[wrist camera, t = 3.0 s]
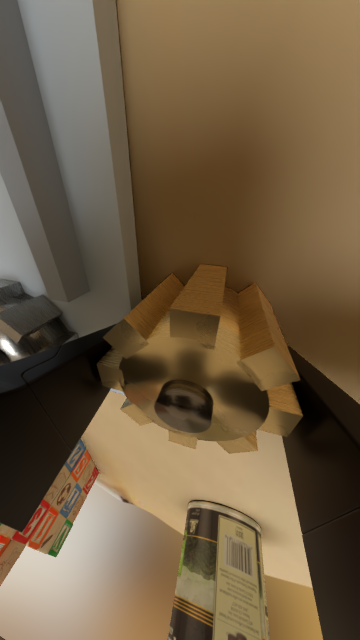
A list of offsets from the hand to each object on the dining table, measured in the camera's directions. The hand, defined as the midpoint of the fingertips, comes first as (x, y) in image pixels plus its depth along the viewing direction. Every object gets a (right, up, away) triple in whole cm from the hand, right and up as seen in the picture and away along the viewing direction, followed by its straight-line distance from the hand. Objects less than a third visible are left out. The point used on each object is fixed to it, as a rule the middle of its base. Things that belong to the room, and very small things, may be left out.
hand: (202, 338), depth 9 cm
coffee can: (+5, -28, +17) cm, 33 cm away
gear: (-11, 0, +3) cm, 11 cm away
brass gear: (0, 0, +1) cm, 1 cm away
